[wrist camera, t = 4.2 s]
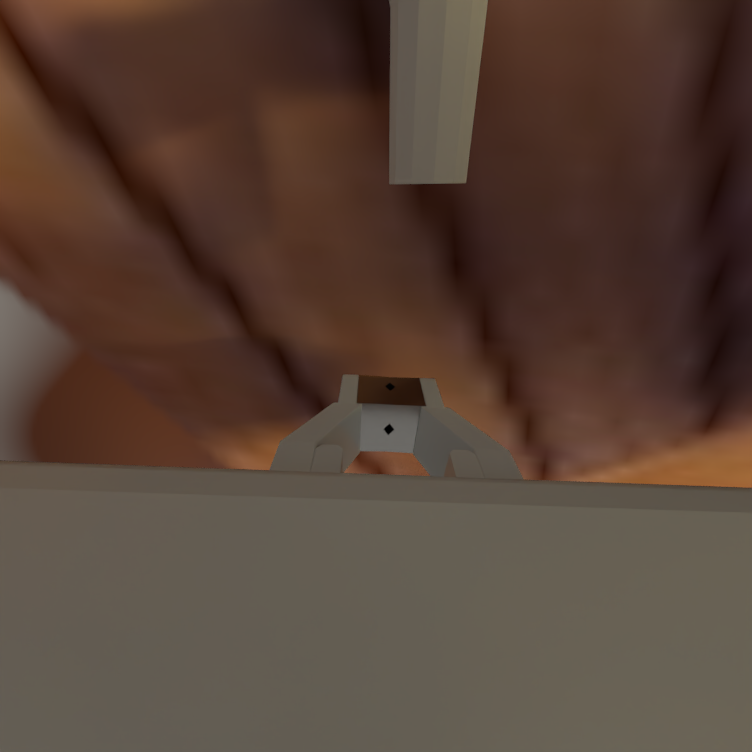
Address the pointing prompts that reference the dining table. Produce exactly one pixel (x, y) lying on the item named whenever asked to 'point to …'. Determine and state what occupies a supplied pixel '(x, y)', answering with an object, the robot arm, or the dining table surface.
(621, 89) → the dining table surface
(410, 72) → the pipe connector
